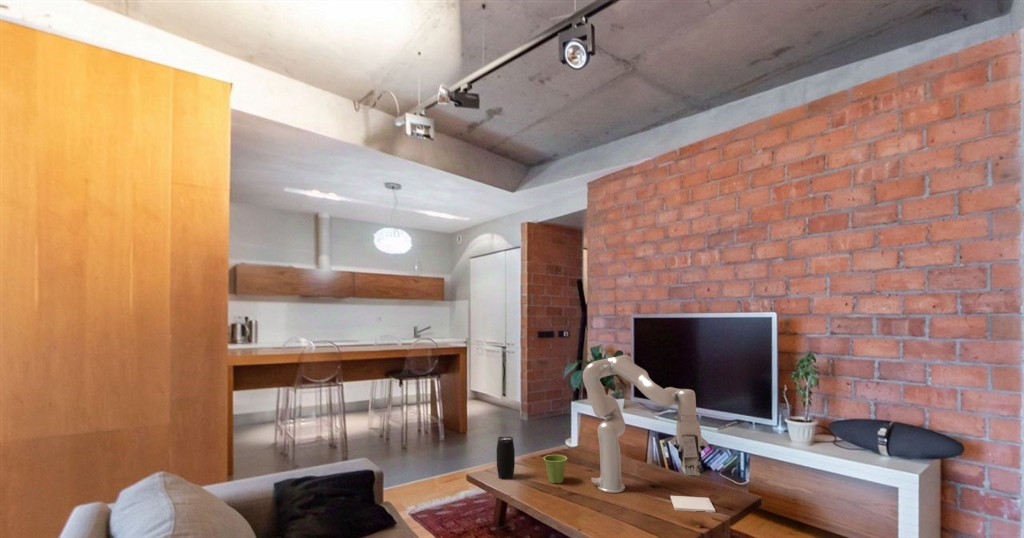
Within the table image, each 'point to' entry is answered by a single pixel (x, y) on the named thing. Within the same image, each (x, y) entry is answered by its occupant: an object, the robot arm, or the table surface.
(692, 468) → the coffee box
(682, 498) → the rest mat
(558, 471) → the plant pot
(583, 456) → the table surface
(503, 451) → the portable speaker
